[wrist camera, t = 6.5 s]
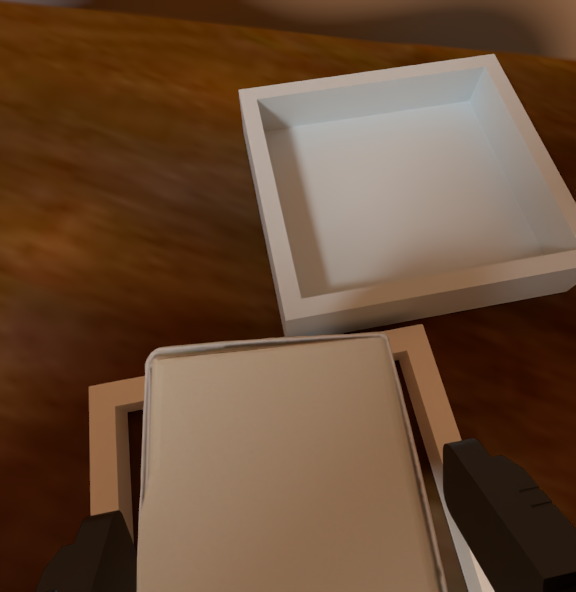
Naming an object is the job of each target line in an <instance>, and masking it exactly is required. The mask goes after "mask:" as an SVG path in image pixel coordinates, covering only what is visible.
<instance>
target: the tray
mask: <svg viewBox="0 0 576 592" xmlns="http://www.w3.org/2000/svg"><path fill="white" fill-rule="evenodd" d="M238 91H239V99H240V107H241V115H242V123H243V131H244V137H245V142H246V147H247V152H248V157H249V162H250V167H251V172H252V177H253V182H254V187H255V192H256V197H257V202H258V207H259V212H260V217H261V222H262V227H263V232H264V237H265V242H266V247H267V252H268V257H269V262H270V267H271V272H272V277H273V282H274V287H275V292H276V297H277V302H278V307H279V312H280V317H281V322H282V327H283V332H284V337H294V336H315V335H332V334H341V333H347V332H352V331H357V330H363V329H368V328H373V327H379V326H384V325H390V324H395V323H400V322H406V321H411V320H416V319H422V318H427V317H432V316H438V315H443V314H449V313H454V312H459V311H465V310H470V309H475V308H481V307H486V306H492V305H497V304H502V303H508V302H513V301H518V300H524V299H529V298H534V297H540V296H545V295H551V294H556V293H561V292H566V291H568V290H569V289H570V288H572V287H573V286H575V285H576V203H575V201H574V199H573V197H572V196H571V194H570V192H569V190H568V188H567V186H566V185H565V183H564V181H563V179H562V177H561V175H560V174H559V172H558V170H557V168H556V166H555V164H554V163H553V161H552V159H551V157H550V155H549V153H548V152H547V150H546V148H545V146H544V144H543V142H542V141H541V139H540V137H539V135H538V133H537V131H536V130H535V128H534V126H533V124H532V122H531V120H530V119H529V117H528V115H527V113H526V111H525V109H524V108H523V106H522V104H521V102H520V100H519V98H518V97H517V95H516V93H515V91H514V89H513V87H512V86H511V84H510V82H509V80H508V78H507V76H506V75H505V73H504V71H503V69H502V67H501V66H500V64H499V62H498V60H497V58H496V56H495V55H494V54H490V55H483V56H476V57H469V58H462V59H455V60H447V61H440V62H433V63H426V64H419V65H412V66H405V67H398V68H391V69H383V70H376V71H369V72H362V73H355V74H348V75H341V76H334V77H327V78H320V79H312V80H305V81H298V82H291V83H284V84H277V85H270V86H263V87H256V88H249V89H241V90H238Z"/></svg>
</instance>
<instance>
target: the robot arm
mask: <svg viewBox="0 0 576 592" xmlns="http://www.w3.org/2000/svg"><path fill="white" fill-rule="evenodd" d="M443 494H444V498H445V502H446V505H447V508H448V510H449V513H450V515H451V517H452V519H453V520H454V522H455V524H456V525H457V527H458V529H459V531H460V532H461V534H462V536H463V538H464V539H465V541H466V543H467V544H468V546H469V548H470V550H471V551H472V553H473V555H474V557H475V558H476V560H477V562H478V564H479V565H480V567H481V569H482V570H483V572H484V574H485V576H486V577H487V579H488V581H489V583H490V584H491V586H492V588H493V590H494V591H495V592H576V529H575V528H574V526H573V525H572V524H571V523H570V522H569V521H568V519H567V518H566V517H565V516H564V515H563V514H562V513H561V511H560V510H559V509H558V508H557V507H556V506H555V505H553V504H552V501H551V500H550V499H549V498H548V496H547V495H546V494H545V493H544V492H543V491H542V490H540V489H539V486H538V485H537V484H536V483H535V481H534V480H533V479H532V478H531V477H530V476H529V475H528V473H527V472H526V471H525V470H524V469H523V468H522V467H520V466H519V465H517V464H515V463H514V462H512V461H511V460H509V459H508V458H506V457H504V456H503V455H500V456H495V457H491V456H490V455H489V453H488V452H487V451H486V450H485V448H484V447H483V446H482V445H481V443H480V442H479V441H478V440H477V439H475V438H470V439H465V440H460V441H456V442H451V443H446V444H444V446H443ZM35 592H137V551H136V549H135V546H134V543H133V541H132V538H131V535H130V533H129V530H128V527H127V525H126V522H125V519H124V517H123V514H122V513H121V511H119V510H116V511H111V512H106V513H101V514H97V515H92V516H87V517H85V518H84V520H83V521H82V523H81V526H80V529H79V531H78V534H77V537H76V540H75V542H74V544H71V545H66V546H62V547H61V548H60V550H59V551H58V552H57V554H56V555H55V556H54V557H53V559H52V560H51V561H50V563H49V564H48V565H47V566H46V568H45V569H44V571H43V574H42V576H41V579H40V581H39V583H38V586H37V588H36V591H35Z"/></svg>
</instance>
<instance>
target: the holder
mask: <svg viewBox="0 0 576 592" xmlns="http://www.w3.org/2000/svg"><path fill="white" fill-rule="evenodd" d="M381 332H382V333H385V334H386V335H387V336H388V338H389V341H390V346H391V350H392V354H393V358H394V361H396V360H399V363H400V366H401V369H402V373H403V376H404V379H405V383H406V386H407V389H408V392H409V396H410V399H411V402H412V406H413V409H414V412H415V416H416V419H417V422H418V426H419V429H420V432H421V435H422V439H423V442H424V445H425V449H426V452H427V455H428V459H429V462H430V465H431V469H432V472H433V475H434V479H435V482H436V485H437V488H438V492H439V495H440V498H441V502H442V505H443V508H444V512H445V515H446V518H447V522H448V525H449V528H450V531H451V535H452V538H453V541H454V545H455V548H456V551H457V555H458V558H459V561H460V565H461V568H462V571H463V575H464V578H465V581H466V584H467V588H468V591H469V592H495V591H494V590H493V588H492V586H491V584H490V583H489V581H488V579H487V577H486V576H485V574H484V572H483V570H482V569H481V567H480V565H479V564H478V562H477V560H476V558H475V557H474V555H473V553H472V551H471V550H470V548H469V546H468V544H467V543H466V541H465V539H464V538H463V536H462V534H461V532H460V531H459V529H458V527H457V525H456V524H455V522H454V520H453V519H452V517H451V515H450V513H449V510H448V508H447V505H446V502H445V498H444V494H443V446H444V444H446V443H451V442H456V441H460V440H461V437H460V434H459V431H458V428H457V425H456V422H455V419H454V416H453V413H452V410H451V407H450V404H449V401H448V398H447V395H446V392H445V389H444V386H443V383H442V380H441V377H440V374H439V371H438V368H437V365H436V362H435V359H434V356H433V353H432V350H431V347H430V344H429V341H428V338H427V335H426V332H425V329H424V327H423V324H419V325H414V326H408V327H403V328H398V329H392V330H387V331H381ZM144 386H145V376H141V377H136V378H131V379H125V380H120V381H115V382H109V383H104V384H99V385H93V386H89V441H90V513H91V516H92V515H97V514H101V513H106V512H111V511H116V510H119V511H121V513H122V514H123V517H124V519H125V522H126V525H127V527H128V530H129V533H130V535H131V538H132V541H133V543H134V538H133V517H132V496H131V475H130V454H129V433H128V412H132V411H137V410H142V409H143V406H144Z"/></svg>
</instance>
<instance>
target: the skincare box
mask: <svg viewBox="0 0 576 592" xmlns="http://www.w3.org/2000/svg"><path fill="white" fill-rule="evenodd" d="M137 592H448V589H447V585H446V580H445V575H444V570H443V565H442V562H441V558H440V554H439V549H438V543H437V537H436V533H435V529H434V525H433V521H432V516H431V512H430V507H429V502H428V498H427V493H426V489H425V484H424V480H423V476H422V471H421V467H420V463H419V458H418V454H417V450H416V446H415V442H414V437H413V433H412V429H411V425H410V420H409V417H408V413H407V409H406V405H405V402H404V398H403V392H402V388H401V384H400V381H399V377H398V373H397V369H396V365H395V362H394V358H393V354H392V350H391V346H390V341H389V338H388V336H387V335H386V334H385V333H382V332H368V333H357V334H332V335H315V336H294V337H279V338H266V339H251V340H237V341H221V342H211V343H200V344H189V345H176V346H167V347H159V348H157V349H155V350H154V351H152V352H151V354H150V355H149V357H148V358H147V360H146V363H145V386H144V406H143V429H142V456H141V490H140V503H139V522H138V549H137Z"/></svg>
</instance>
